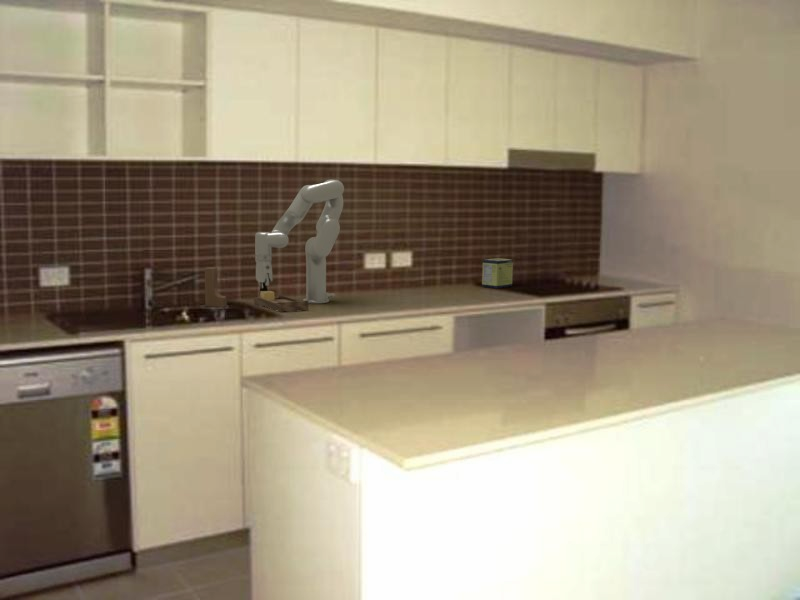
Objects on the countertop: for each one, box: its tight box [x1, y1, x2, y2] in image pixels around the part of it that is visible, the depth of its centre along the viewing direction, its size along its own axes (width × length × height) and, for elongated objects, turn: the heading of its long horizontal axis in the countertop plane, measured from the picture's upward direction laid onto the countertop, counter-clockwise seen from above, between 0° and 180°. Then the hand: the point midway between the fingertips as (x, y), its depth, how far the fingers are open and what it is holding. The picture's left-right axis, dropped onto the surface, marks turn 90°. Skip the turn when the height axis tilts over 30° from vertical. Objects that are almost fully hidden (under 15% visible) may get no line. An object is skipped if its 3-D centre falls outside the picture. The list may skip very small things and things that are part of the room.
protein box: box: [481, 257, 514, 289], centre depth 498 cm, size 10×16×16 cm
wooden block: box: [204, 266, 228, 308], centre depth 408 cm, size 9×4×18 cm, turn 81°
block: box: [259, 290, 275, 301], centre depth 415 cm, size 5×5×4 cm
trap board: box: [253, 294, 309, 313], centre depth 411 cm, size 14×30×4 cm, turn 33°
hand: (263, 296), depth 420 cm, fingers closed
